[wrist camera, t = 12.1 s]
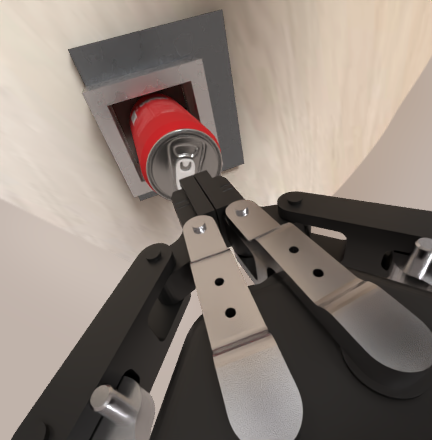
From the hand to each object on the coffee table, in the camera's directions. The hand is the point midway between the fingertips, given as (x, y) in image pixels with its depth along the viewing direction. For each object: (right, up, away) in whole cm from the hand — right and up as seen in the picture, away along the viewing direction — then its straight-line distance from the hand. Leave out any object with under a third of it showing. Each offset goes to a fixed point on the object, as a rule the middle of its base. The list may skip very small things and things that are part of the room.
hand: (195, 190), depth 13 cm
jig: (-3, +9, +11) cm, 15 cm away
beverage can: (-5, +8, +11) cm, 15 cm away
